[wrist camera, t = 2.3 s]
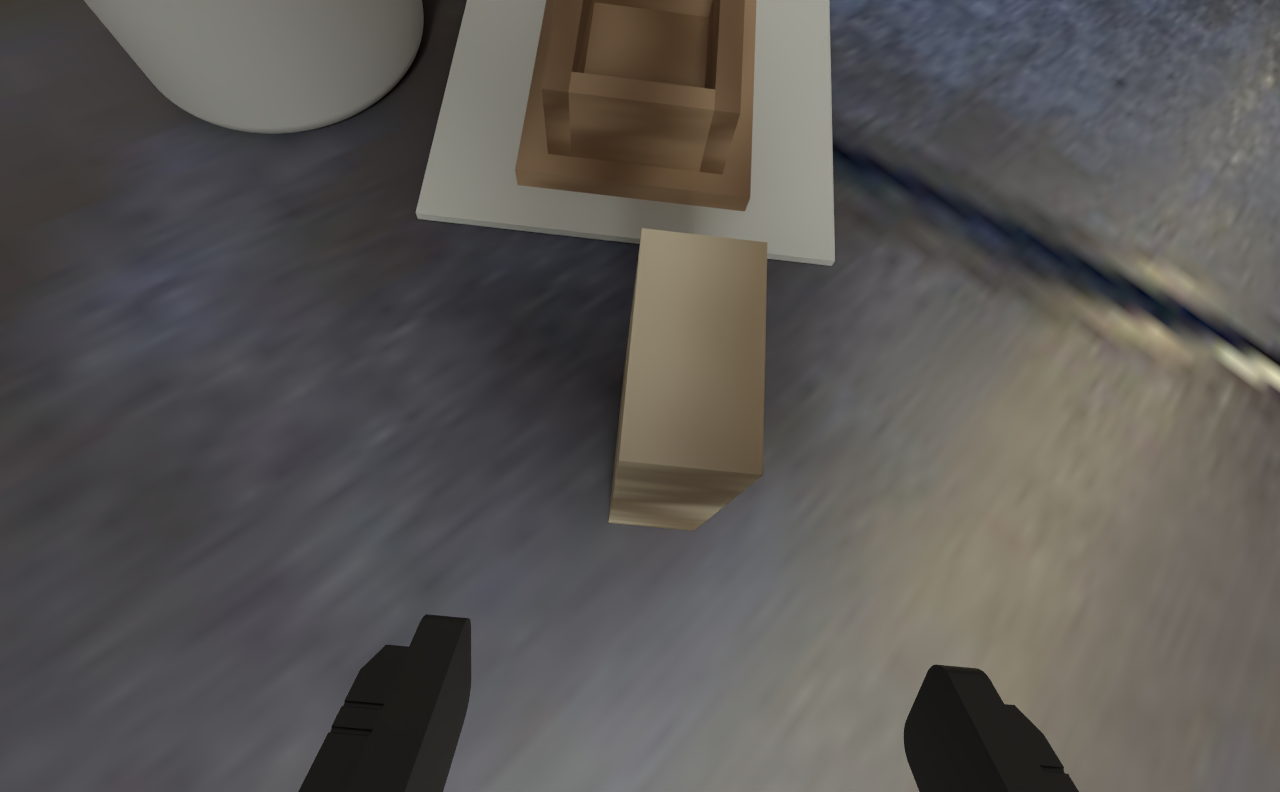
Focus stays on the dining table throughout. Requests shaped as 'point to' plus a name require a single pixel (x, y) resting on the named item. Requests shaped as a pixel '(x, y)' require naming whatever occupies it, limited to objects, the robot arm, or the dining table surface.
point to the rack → (643, 101)
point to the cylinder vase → (268, 56)
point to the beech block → (691, 380)
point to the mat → (489, 196)
